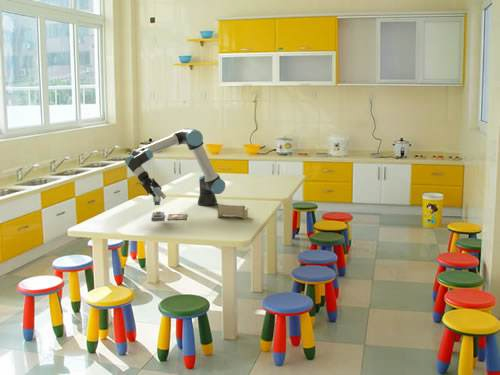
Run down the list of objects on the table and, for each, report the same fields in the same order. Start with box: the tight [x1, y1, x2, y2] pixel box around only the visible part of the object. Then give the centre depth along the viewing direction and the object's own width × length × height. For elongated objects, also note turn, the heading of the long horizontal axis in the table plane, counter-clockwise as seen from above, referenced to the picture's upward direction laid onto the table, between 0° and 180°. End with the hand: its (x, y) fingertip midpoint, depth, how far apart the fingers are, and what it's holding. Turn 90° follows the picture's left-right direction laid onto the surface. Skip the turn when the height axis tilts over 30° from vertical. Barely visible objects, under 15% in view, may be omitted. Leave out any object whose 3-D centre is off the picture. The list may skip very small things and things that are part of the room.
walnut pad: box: [166, 213, 188, 221], centre depth 456 cm, size 13×16×1 cm
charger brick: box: [152, 186, 162, 206], centre depth 449 cm, size 5×5×12 cm
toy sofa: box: [216, 204, 249, 220], centre depth 456 cm, size 21×9×10 cm, turn 75°
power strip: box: [151, 211, 165, 222], centre depth 456 cm, size 18×8×4 cm, turn 6°
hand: (161, 198), depth 447 cm, fingers closed on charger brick, 7 cm apart
